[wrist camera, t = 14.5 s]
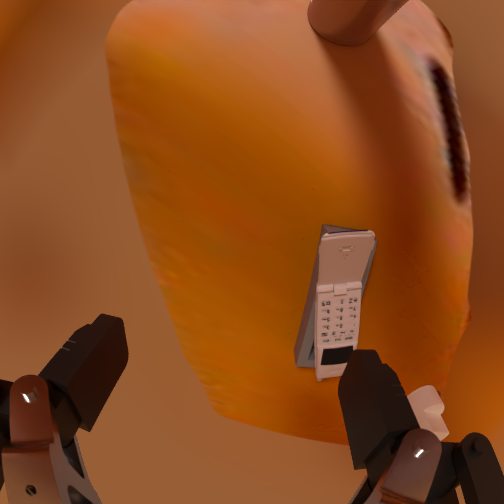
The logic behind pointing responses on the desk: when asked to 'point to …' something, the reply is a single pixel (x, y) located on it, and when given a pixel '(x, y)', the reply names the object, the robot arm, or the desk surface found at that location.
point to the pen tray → (307, 328)
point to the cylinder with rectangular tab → (428, 410)
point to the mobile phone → (339, 298)
